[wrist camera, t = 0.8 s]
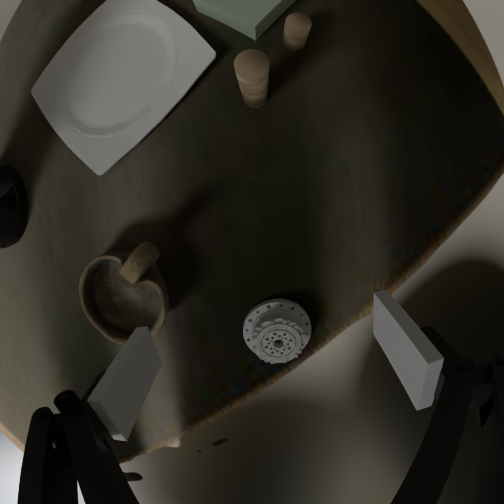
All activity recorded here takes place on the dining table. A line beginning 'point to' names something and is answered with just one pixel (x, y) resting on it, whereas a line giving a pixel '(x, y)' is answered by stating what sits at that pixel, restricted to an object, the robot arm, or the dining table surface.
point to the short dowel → (296, 31)
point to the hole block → (244, 13)
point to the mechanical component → (277, 330)
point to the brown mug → (125, 292)
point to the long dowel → (252, 76)
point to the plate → (119, 78)
